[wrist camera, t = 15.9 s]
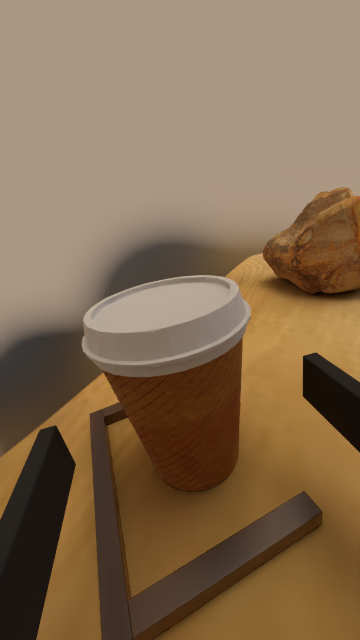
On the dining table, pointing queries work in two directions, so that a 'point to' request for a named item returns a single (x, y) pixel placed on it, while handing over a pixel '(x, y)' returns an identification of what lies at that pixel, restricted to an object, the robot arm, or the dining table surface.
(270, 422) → the dining table surface
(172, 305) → the disposable coffee cup
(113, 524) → the walnut frame
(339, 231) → the rough brown rock
